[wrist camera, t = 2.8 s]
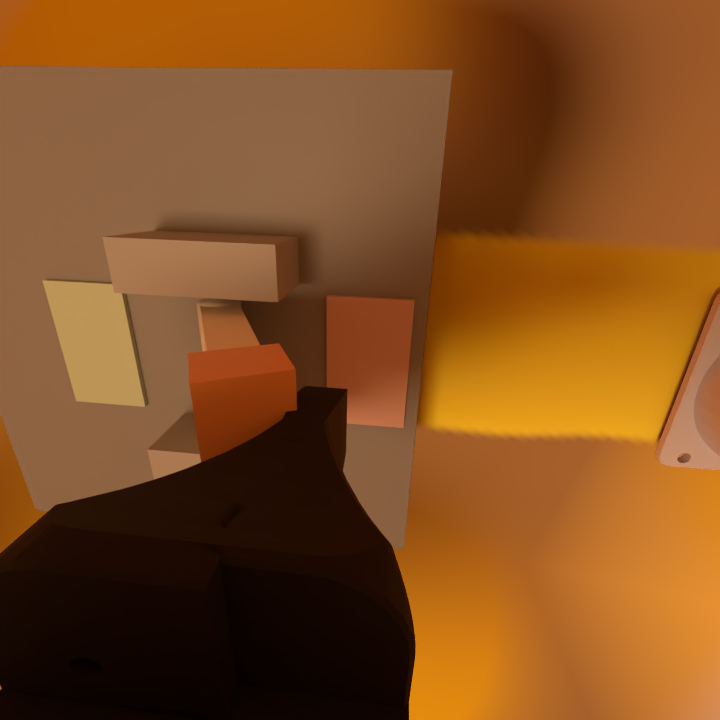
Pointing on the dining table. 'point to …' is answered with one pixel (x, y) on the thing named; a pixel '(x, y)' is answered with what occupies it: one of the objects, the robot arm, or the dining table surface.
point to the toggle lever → (235, 380)
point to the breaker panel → (208, 182)
